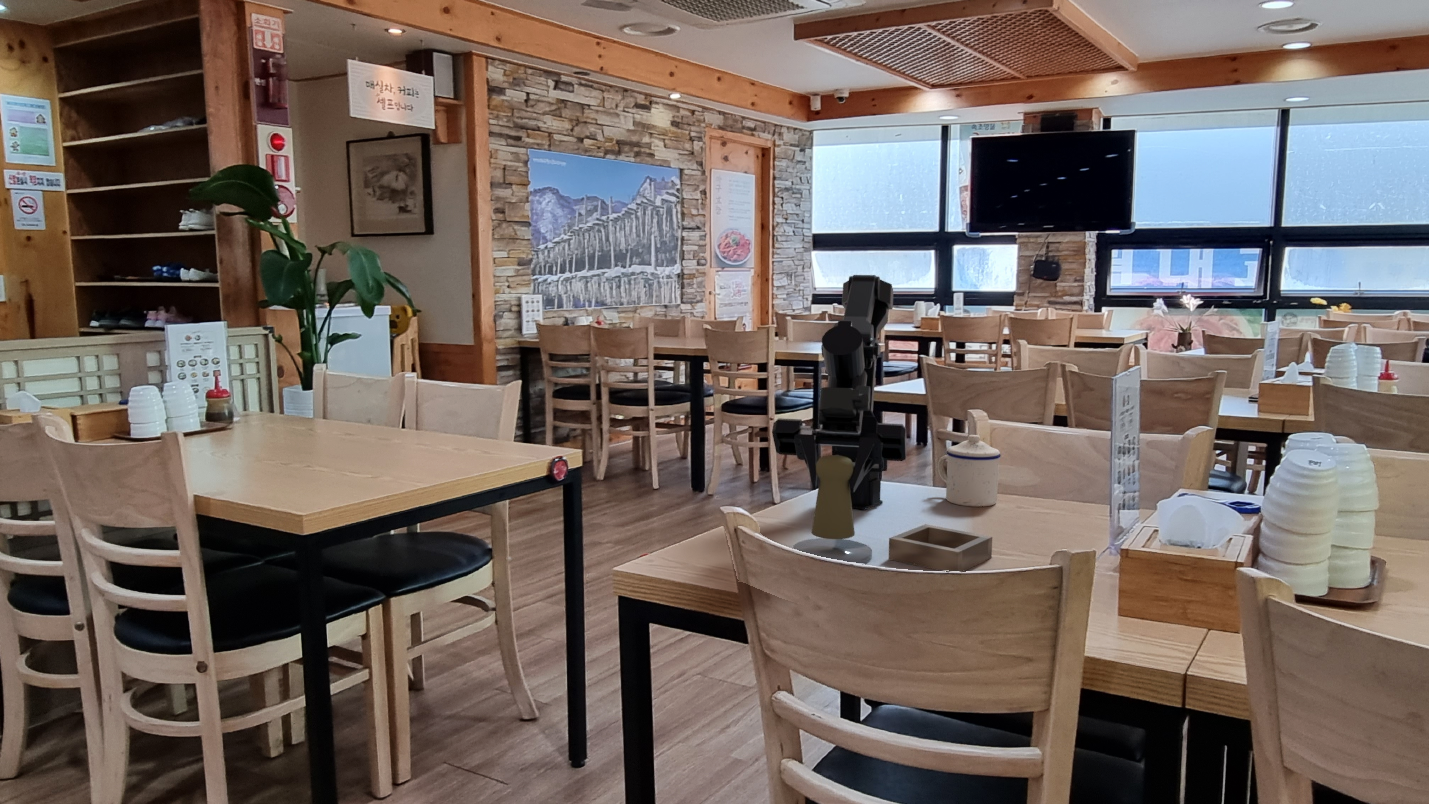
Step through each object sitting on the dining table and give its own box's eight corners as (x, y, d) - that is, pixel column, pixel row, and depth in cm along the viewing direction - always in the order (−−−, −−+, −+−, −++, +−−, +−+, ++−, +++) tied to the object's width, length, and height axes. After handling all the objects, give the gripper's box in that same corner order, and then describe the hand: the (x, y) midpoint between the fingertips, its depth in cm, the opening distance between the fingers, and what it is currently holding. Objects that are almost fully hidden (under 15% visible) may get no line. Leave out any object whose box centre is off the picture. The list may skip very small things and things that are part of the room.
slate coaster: (777, 556, 140) (777, 549, 140) (821, 540, 149) (821, 534, 149) (844, 572, 133) (844, 564, 133) (886, 554, 142) (886, 547, 142)
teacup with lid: (1009, 502, 175) (1012, 436, 173) (975, 510, 169) (978, 441, 168) (954, 490, 184) (957, 427, 182) (920, 496, 178) (923, 432, 177)
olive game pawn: (840, 541, 137) (842, 462, 135) (803, 534, 140) (804, 456, 139) (862, 532, 141) (865, 455, 140) (826, 525, 145) (827, 450, 144)
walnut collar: (888, 559, 140) (889, 538, 139) (924, 544, 147) (925, 524, 147) (957, 574, 133) (958, 552, 133) (991, 557, 141) (992, 536, 140)
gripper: (775, 362, 144) (758, 452, 135) (908, 367, 139) (900, 460, 130) (784, 409, 152) (769, 497, 143) (909, 414, 148) (902, 505, 139)
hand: (832, 489), depth 139 cm, fingers closed on olive game pawn, 5 cm apart
